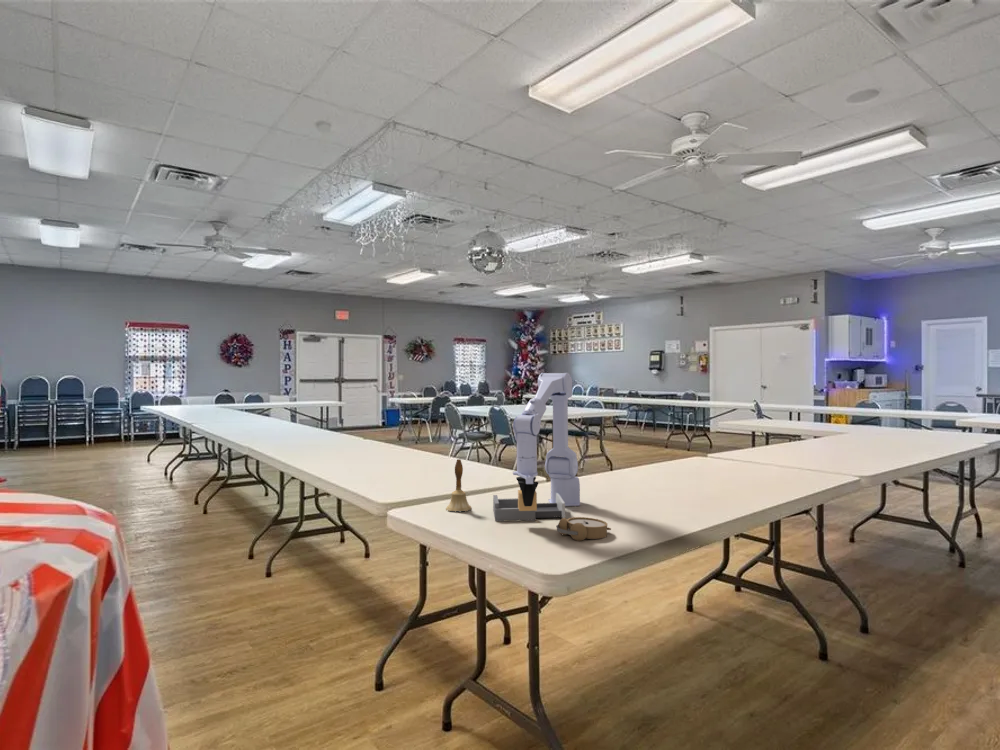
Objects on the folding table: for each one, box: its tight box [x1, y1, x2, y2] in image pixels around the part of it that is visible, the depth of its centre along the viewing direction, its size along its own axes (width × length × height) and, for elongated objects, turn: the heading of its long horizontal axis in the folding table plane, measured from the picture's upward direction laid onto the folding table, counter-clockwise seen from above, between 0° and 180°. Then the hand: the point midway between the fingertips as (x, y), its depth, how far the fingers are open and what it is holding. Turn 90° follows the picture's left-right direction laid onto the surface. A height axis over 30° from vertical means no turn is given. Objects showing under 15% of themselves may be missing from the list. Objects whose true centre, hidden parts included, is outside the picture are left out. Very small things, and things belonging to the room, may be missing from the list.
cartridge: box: [517, 489, 538, 511], centre depth 162 cm, size 5×4×5 cm
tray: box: [535, 493, 566, 519], centre depth 175 cm, size 11×13×5 cm
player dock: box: [492, 494, 536, 522], centre depth 174 cm, size 12×13×5 cm
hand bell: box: [445, 458, 473, 513], centre depth 182 cm, size 8×8×16 cm
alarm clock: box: [556, 516, 612, 542], centre depth 154 cm, size 11×5×15 cm
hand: (527, 503), depth 162 cm, fingers closed on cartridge, 4 cm apart
